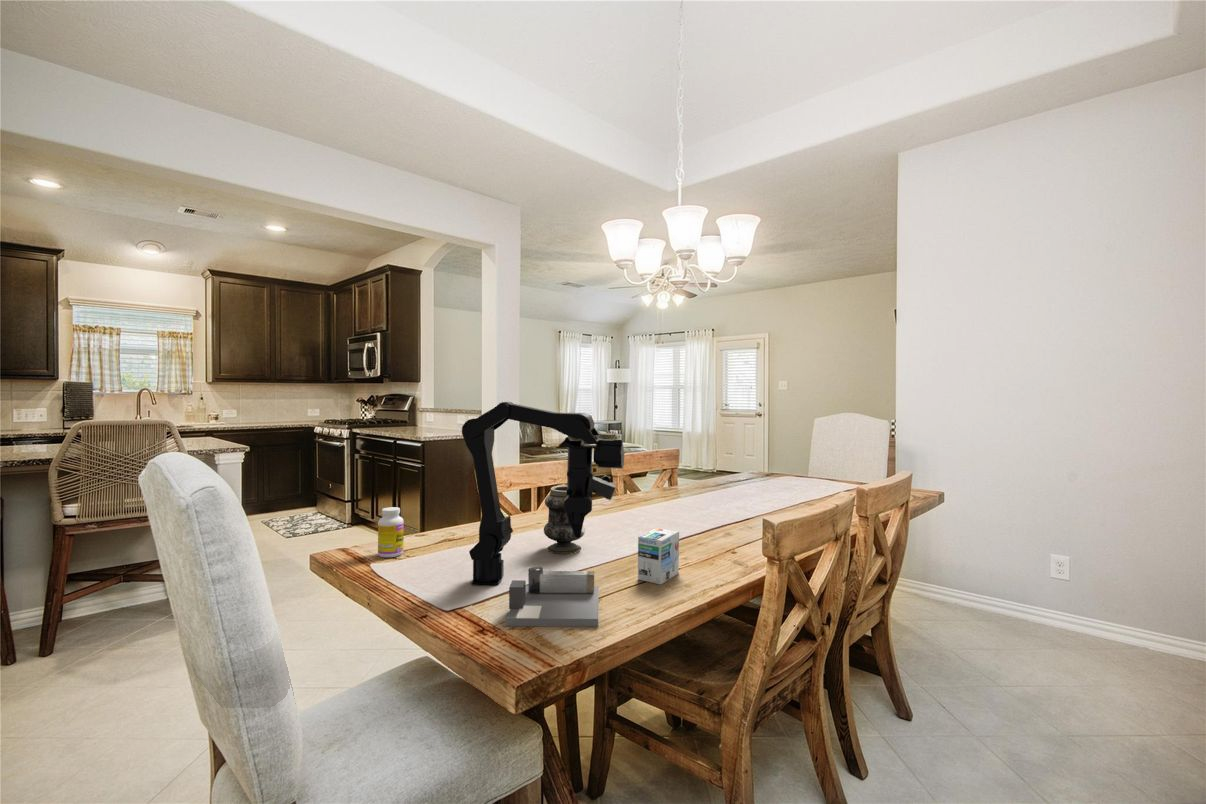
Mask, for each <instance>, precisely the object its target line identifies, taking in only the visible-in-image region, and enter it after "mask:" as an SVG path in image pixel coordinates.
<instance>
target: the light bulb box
mask: <svg viewBox="0 0 1206 804" xmlns="http://www.w3.org/2000/svg"><path fill="white" fill-rule="evenodd" d="M637 538H638V539H637V540H638V541H637V580H639V581H644V582H648V583H652V584H655V585H656V584H657V585H663V584H665V582H666V583H667V581H669V580H670V579H672V578H673V577H675V576H676V575H678V574H679V571H680V570H679V569H680V567H679V565H680V563H679V562H680V561H679V560H680V531H676V530H669V529H664V528H661V527H660V528H658V527H656V528H654V529H652V530H650V531H648V532H645V533H644V534H641V535H639V536H638V537H637Z"/></svg>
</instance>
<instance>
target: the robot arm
mask: <svg viewBox="0 0 1206 804" xmlns="http://www.w3.org/2000/svg"><path fill="white" fill-rule="evenodd" d="M508 420H511V421H514V422H515V421H517V422H521V423H525V424H529V425H534V426H540V427H544V428H548V429H552V430H555V431H557V432H559V433H561V434H563V435H565V436H567V437H565V438H564V440H563V441H562V442H561V443H560V444H558V445H559V447H560V448H567V471H566V478H567V479H566V486H567V493H566V495H567V497H566V498H565V499H564V510H565V512H566V515H567V517H568V520H569V522H570V525H571V527H572V530H573V533H574V535H575V537H576V538H580V536H581V531H582V527H583V526H584V525H583V524H584V521H585V517H586V516H588V514H589V513H591V512H592V511H593V494H595V495H598V496H601V497H604V498H605V499H606V500H609V501H611V500H612V498H613V495H614V493H615V491H616V488H617V487H616V484H614V483H613V482H611V477H610V476H608V475H605V474H604V475H603V476H602V477H596V476H594V471H593V463H594V464H595V465H597V467H598V468H599V469H620V470H621V469H622V470H623V468H624V465H625V452H624V451H625V450H624V440H623V438H621V439H620V438H616V439H603V437H602V436H601V435H600V434H599V431H597V429H596V428H595V420H594V419H593V417H592V415H590V414H588V413H585V412H556V411H551V410H548V409H547V410H546V409H540V408H536V407H532V406H525V405H521V404H517V403H514V402H511V401H502V402H499V403H498V404H497V405H496V406H495V407H492V409H490V410H488V411H486V412H485V413H483V414H481V415H480V416H478V417H475V418H470V419H468V420H466V421H465V422H464V424H463V425H462V426H461V435H462V438H463V441H464V444H465V446H466V448H467V450H468V451H469V453H470V455H471V457H472V462H473V467H474V473H475V474H474V475H475V480H476V488H477V493H478V498H479V499H478V500H479V506H480V513H481V519H480V524H479V527H478V542H477V543H476V544H475V545H474V546H473V547H472V548H471V549H470V550H469V551H468V552H469V556H470V559H471V560H472V580H471V582H470V584H471V585H477V586H478V585H485V586H488V585H489V586H490V585H491V586H492V585H495V586H496V585H497V584H498V585H499V584H500V582H501V581H502V580H503V578H504V572H505V571H504V568H505V566H504V559H502V551H503V550H504V546H506V545H507V544H508V543H509V542H510V541H511V537H512V533H514V529H513V527H512V524H511V523H512V522H511V521H512V519H511V515H508V516H505V514H504V513H503V511H502V508H501V503H500V498H499V491H498V486H497V485H498V484H497V483H498V482H497V477H496V471H495V465H494V459H493V448H494V445H495V430H497V429H499V428H500V427H502V425H504V424H505V423H506V422H507V421H508ZM570 437H571V438H570ZM572 438H573V439H572ZM580 539H581V538H580Z"/></svg>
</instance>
